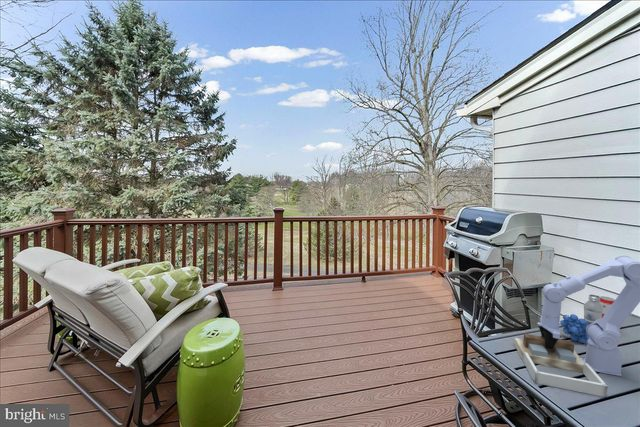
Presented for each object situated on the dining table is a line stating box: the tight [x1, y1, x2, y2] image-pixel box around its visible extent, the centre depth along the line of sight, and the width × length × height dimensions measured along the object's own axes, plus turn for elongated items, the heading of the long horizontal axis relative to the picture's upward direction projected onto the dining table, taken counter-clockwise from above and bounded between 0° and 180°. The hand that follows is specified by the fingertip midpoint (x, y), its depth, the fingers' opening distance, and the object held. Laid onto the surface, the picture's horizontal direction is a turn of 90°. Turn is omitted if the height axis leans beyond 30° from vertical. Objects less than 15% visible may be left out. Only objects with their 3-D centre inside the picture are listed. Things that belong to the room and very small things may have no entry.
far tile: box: [528, 343, 548, 357], centre depth 117 cm, size 5×5×2 cm
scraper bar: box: [522, 333, 575, 353], centre depth 119 cm, size 16×3×4 cm, turn 70°
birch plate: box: [513, 337, 584, 373], centre depth 119 cm, size 20×13×3 cm, turn 70°
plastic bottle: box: [583, 294, 603, 326], centre depth 133 cm, size 6×7×20 cm
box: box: [522, 352, 608, 398], centre depth 106 cm, size 20×13×4 cm, turn 70°
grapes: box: [559, 313, 589, 344], centre depth 130 cm, size 12×7×12 cm, turn 36°
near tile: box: [555, 348, 576, 362], centre depth 114 cm, size 5×5×2 cm
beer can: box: [599, 296, 616, 319], centre depth 140 cm, size 6×6×16 cm
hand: (547, 346), depth 119 cm, fingers closed on scraper bar, 3 cm apart
